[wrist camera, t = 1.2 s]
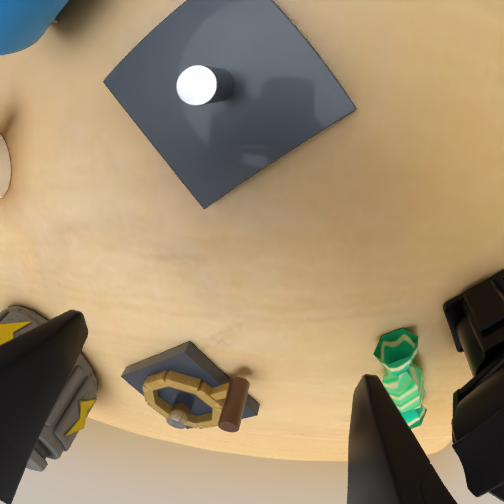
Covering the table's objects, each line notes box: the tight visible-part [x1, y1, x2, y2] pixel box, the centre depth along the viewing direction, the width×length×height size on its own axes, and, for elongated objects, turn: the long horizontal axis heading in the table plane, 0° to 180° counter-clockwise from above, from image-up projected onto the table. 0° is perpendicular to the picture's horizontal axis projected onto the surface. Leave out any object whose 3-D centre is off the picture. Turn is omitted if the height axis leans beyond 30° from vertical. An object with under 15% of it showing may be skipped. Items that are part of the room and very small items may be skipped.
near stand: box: [103, 0, 357, 209], centre depth 15 cm, size 11×11×5 cm
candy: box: [374, 328, 427, 429], centre depth 25 cm, size 12×3×4 cm
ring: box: [142, 370, 249, 432], centre depth 28 cm, size 13×9×5 cm
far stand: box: [121, 341, 259, 429], centre depth 30 cm, size 11×11×5 cm
